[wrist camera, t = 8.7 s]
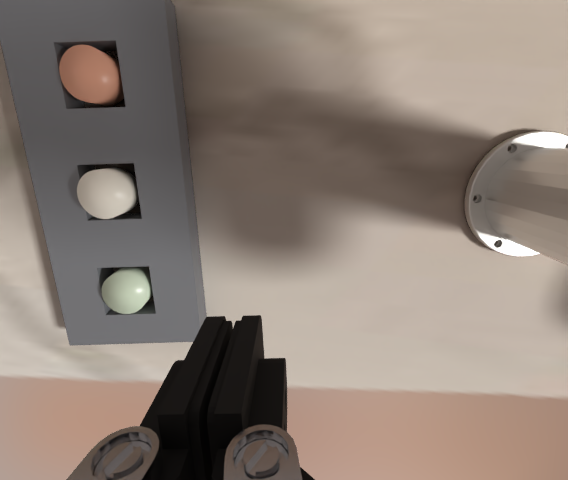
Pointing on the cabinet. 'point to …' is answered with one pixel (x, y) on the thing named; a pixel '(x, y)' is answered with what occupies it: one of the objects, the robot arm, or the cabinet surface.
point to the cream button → (107, 192)
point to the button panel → (109, 150)
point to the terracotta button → (91, 75)
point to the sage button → (127, 289)
